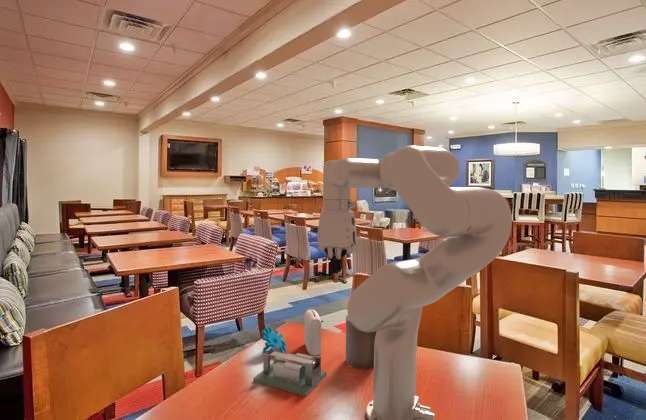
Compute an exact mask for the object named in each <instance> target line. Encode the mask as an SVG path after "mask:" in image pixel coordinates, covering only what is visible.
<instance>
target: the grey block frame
mask: <svg viewBox="0 0 646 420" xmlns="http://www.w3.org/2000/svg"><path fill="white" fill-rule="evenodd" d="M274 351H276V352H280V347H277V346H275V347H274ZM270 354H271V353H270ZM270 354H269V353H263V355H262V356H263V359H262V360H263V362H262V363H263V370H262V371H263V374H265V375H269V374H270V365H271V358H270ZM287 354H288V355H292V356H297V357H301V358H305V359H309V360H313V361H314V360H317V361H318V364H316V365H315V366H314V367H313V364H312V363H307V362H306V363H305V366H302V365H298V364H294V363H290V362H286V361H282V360H278V359H274V358H273V362H274V365H273V379H276V380H279V381H283V382H287V383H290V384H294V385H297V386H300V385H301V384H302V383H303V382H304V381H305V384H306V385H309V386H313V385H314V384H315V383H316V381H317V380H318V379H319V378H320V377H321V370H322V357H321V356H320V355H310V354H304V353H300V352H297V353H296V354H294V353H289V352H288V353H287Z"/></svg>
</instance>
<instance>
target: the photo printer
mask: <svg viewBox="0 0 646 420" xmlns="http://www.w3.org/2000/svg"><path fill="white" fill-rule="evenodd" d="M304 346H305V348H306V351H307V352H308V355H309V356H314V355H315V356H320V354H322V320H321V317H320V315H319V313H318V311H316V310H314V309H308V310H307V311H305V313H304Z"/></svg>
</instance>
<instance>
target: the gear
mask: <svg viewBox="0 0 646 420" xmlns="http://www.w3.org/2000/svg"><path fill="white" fill-rule="evenodd" d="M273 330H274V328H273V327H271V326H269V327H267V326H265V327H264V328H263V330H262V331H261V334H262V337H261V340H262V341H265V343H264V345H265V346H264V347H263V348H262V350H263V352H267V350H268V349H269V350H270V352H271V353H273V352H274V347H275V346H277V347H280V353H284V354H286V351H287V349H288V347H287V346H286V345H287V341H285V340H283V339H284V336H285V335H284V333H282V332H280V334H279V330H278V329H275V330H274V331H273ZM278 334H279V335H278Z"/></svg>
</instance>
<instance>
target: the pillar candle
mask: <svg viewBox="0 0 646 420" xmlns="http://www.w3.org/2000/svg"><path fill="white" fill-rule="evenodd" d="M376 332H377V331H375V332H363V331H360V330H358V329H357V328H355V327H354V326H353V325H352V323H351V322H350V320H349V317H348V314H347V315H346V316H345V362H346V364H347V365H348V366H349V367H351V368H354V369H358V370H359V369H360V370H364V369H372V368H373V369H374V342H375V336H376Z"/></svg>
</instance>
